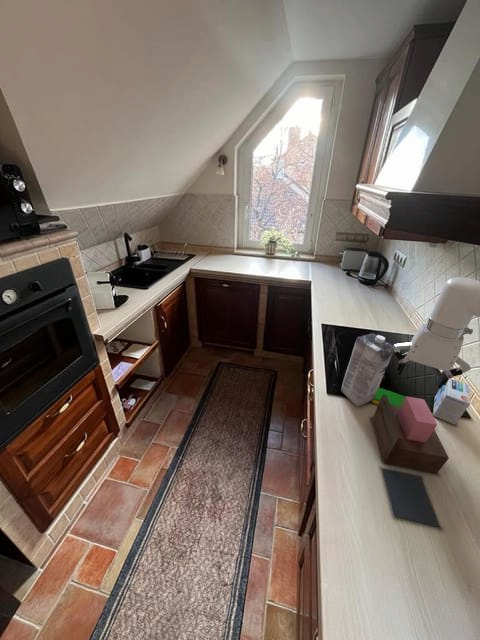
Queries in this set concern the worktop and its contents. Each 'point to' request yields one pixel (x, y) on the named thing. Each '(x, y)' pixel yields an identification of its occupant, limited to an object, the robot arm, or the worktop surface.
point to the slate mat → (409, 497)
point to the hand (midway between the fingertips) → (418, 378)
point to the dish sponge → (392, 397)
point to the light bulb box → (452, 401)
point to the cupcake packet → (416, 419)
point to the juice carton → (366, 368)
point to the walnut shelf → (405, 442)
